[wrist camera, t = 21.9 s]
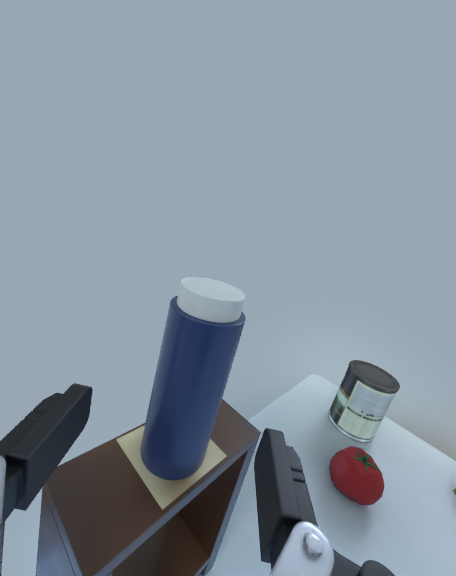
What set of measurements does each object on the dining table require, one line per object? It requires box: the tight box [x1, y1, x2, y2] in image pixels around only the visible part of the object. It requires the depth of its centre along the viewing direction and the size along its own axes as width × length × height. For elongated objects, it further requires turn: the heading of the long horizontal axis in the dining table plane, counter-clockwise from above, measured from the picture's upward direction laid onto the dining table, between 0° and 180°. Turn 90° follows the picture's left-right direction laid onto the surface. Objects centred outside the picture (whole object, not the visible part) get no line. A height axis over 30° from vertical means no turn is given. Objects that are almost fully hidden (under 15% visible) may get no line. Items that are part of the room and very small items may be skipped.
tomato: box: [329, 446, 384, 505], centre depth 44 cm, size 8×8×7 cm
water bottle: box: [140, 277, 246, 480], centre depth 19 cm, size 5×5×14 cm
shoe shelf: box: [36, 399, 261, 576], centre depth 24 cm, size 16×7×20 cm, turn 138°
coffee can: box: [328, 360, 400, 442], centre depth 59 cm, size 10×10×14 cm
